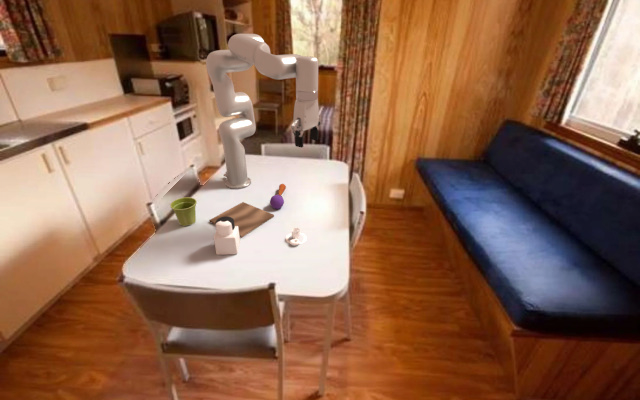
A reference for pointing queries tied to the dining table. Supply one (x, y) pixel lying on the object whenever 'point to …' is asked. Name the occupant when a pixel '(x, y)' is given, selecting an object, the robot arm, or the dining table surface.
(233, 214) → the walnut board
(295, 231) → the white rounded piece
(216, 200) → the dining table surface
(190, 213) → the plant pot
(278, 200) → the purple maraca
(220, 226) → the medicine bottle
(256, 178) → the dining table surface
